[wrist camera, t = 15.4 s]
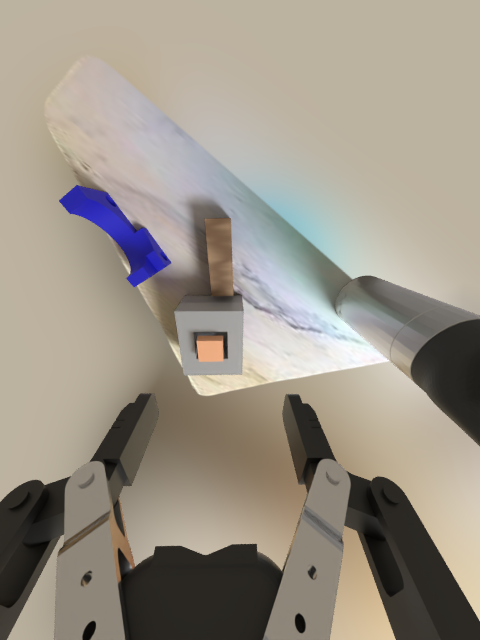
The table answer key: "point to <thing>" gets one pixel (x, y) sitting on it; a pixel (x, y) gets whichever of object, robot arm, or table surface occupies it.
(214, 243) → the brown wooden plank
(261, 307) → the table surface
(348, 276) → the table surface
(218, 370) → the box
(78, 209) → the blue bent block
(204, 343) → the button
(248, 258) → the table surface
